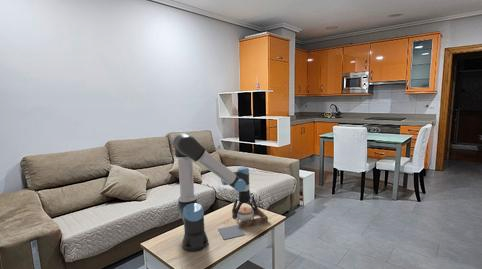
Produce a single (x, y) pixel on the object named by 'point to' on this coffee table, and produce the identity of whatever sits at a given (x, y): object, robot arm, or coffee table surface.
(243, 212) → the lidded jar
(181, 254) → the coffee table surface
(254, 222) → the walnut holder
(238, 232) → the grey mat
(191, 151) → the robot arm
